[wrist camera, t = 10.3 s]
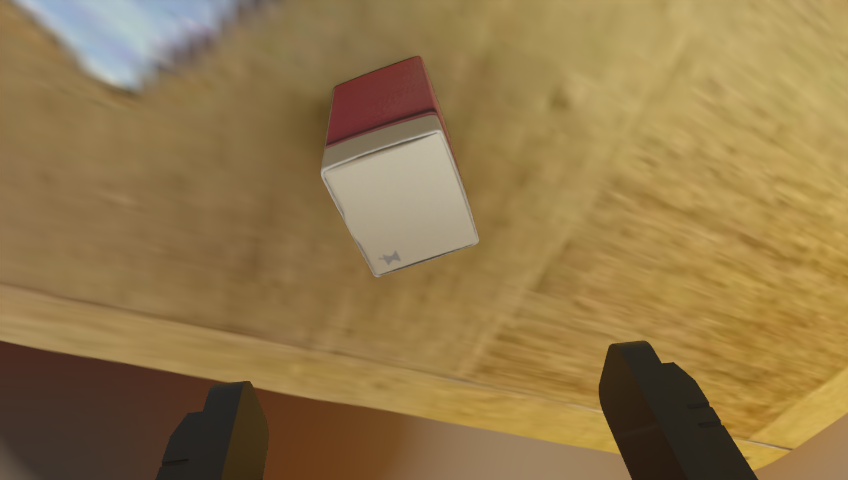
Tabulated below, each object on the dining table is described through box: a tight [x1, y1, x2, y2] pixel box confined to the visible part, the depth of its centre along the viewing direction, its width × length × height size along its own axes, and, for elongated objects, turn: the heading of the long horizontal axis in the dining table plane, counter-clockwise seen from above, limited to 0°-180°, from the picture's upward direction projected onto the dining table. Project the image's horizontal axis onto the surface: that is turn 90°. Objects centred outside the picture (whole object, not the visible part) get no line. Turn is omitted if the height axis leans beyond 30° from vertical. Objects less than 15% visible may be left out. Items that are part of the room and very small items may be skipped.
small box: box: [321, 56, 479, 277], centre depth 20 cm, size 5×4×8 cm
